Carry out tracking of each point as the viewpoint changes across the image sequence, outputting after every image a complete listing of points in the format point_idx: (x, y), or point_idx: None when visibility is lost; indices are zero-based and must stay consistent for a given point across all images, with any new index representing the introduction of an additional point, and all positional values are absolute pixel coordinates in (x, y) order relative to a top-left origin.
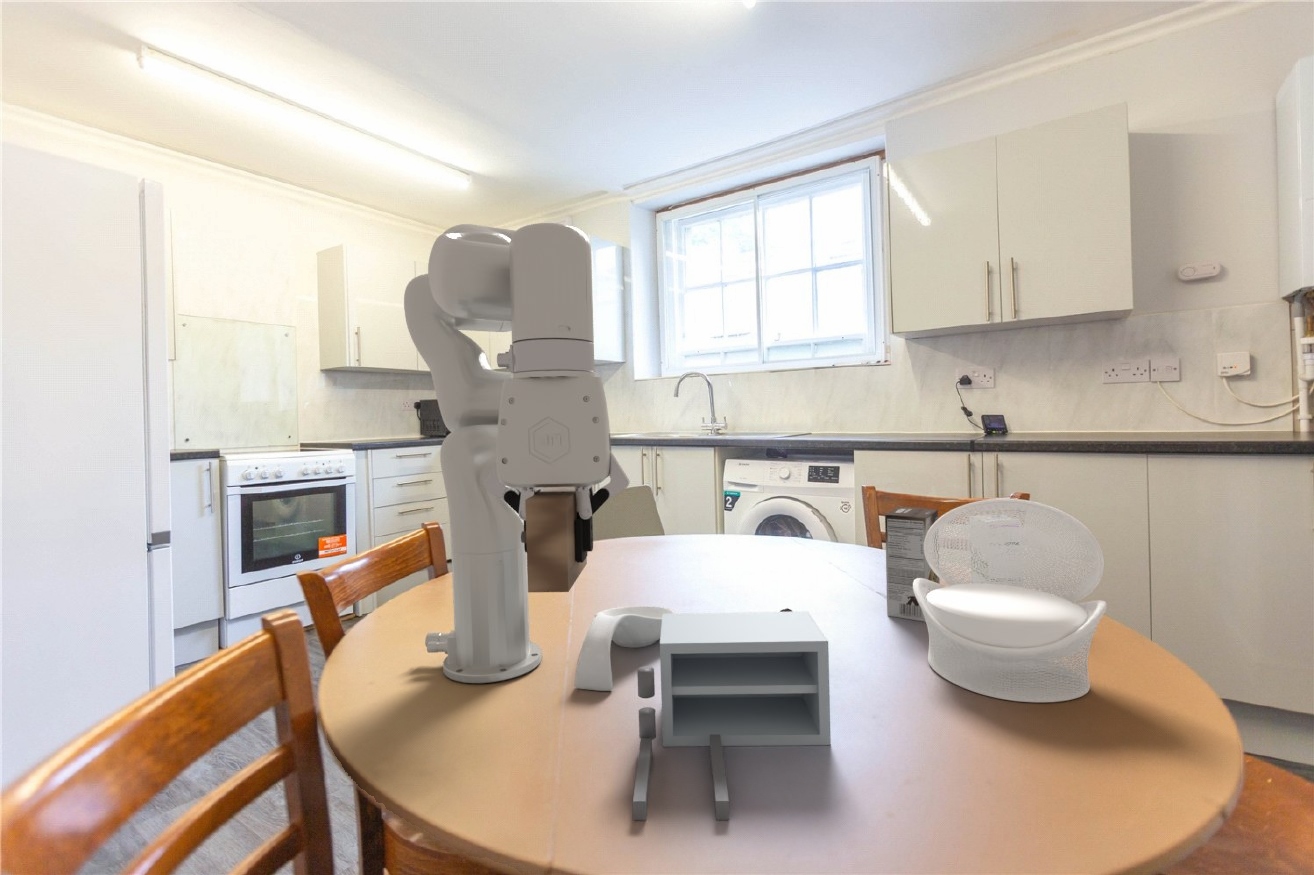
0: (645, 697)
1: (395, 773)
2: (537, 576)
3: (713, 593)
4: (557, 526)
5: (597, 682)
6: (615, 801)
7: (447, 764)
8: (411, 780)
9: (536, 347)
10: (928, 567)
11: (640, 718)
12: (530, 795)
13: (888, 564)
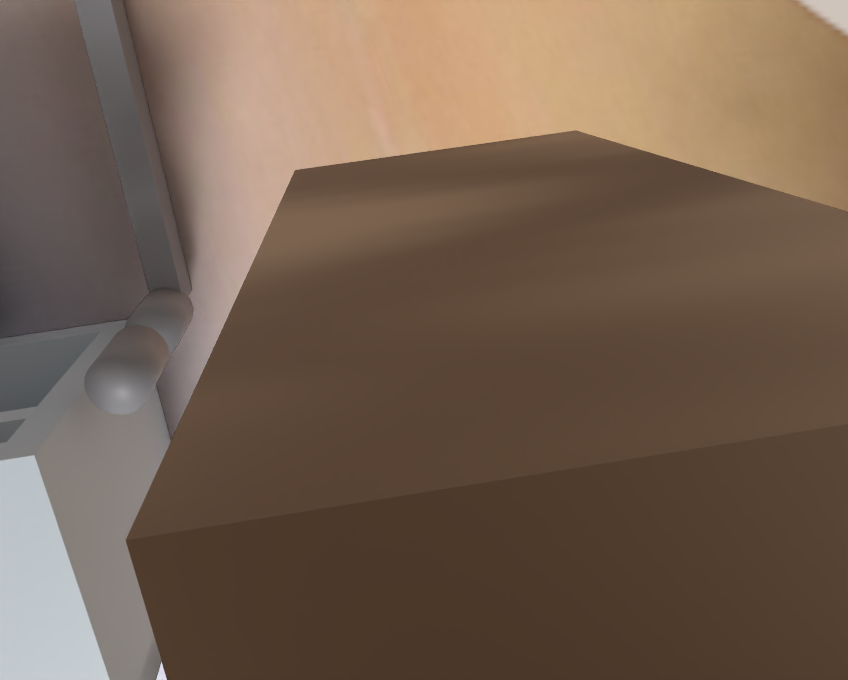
0: (132, 325)
1: (822, 97)
2: (532, 153)
3: None
4: (377, 283)
5: None
6: (191, 48)
7: (701, 156)
8: (767, 72)
9: None
10: None
11: (171, 310)
12: (427, 46)
13: None
